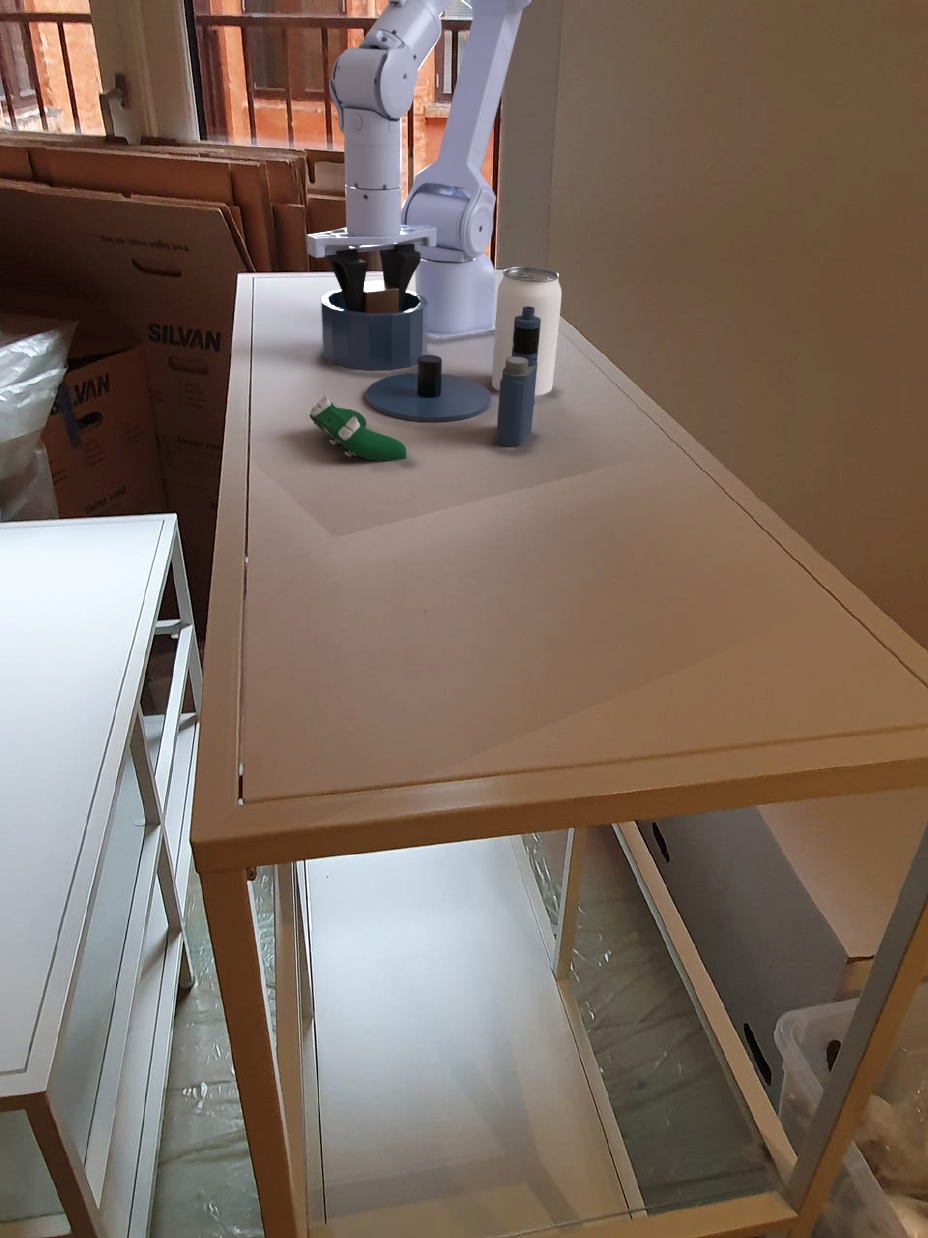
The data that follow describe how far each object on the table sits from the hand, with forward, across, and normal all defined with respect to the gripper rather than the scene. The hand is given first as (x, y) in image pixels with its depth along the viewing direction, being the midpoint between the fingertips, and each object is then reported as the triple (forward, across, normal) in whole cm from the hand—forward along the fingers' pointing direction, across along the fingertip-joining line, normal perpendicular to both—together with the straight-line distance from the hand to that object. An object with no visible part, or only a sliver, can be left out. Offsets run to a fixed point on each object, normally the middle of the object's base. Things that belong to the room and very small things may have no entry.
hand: (374, 319), depth 101 cm
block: (+1, 0, 0) cm, 1 cm away
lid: (+4, +2, +15) cm, 16 cm away
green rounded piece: (+5, +14, +22) cm, 26 cm away
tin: (+4, 0, 0) cm, 4 cm away
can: (+5, -9, +16) cm, 19 cm away
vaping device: (+5, 0, +27) cm, 27 cm away
